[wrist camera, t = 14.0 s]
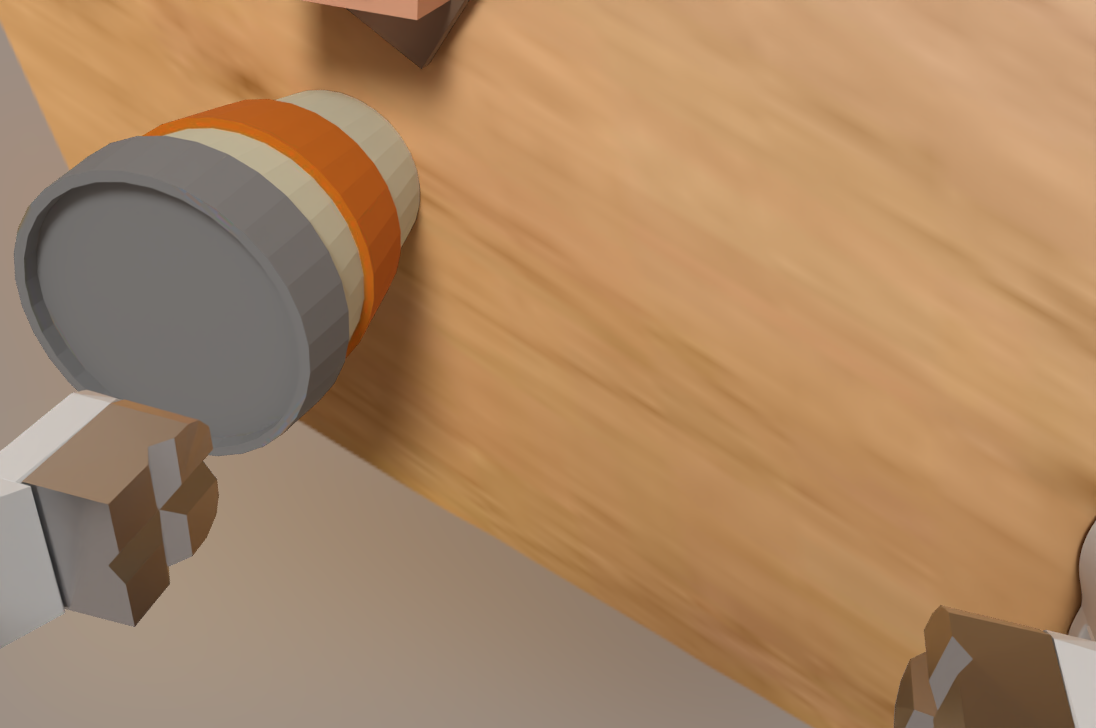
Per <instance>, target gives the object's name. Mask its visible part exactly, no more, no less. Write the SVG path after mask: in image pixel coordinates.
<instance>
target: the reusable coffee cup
mask: <svg viewBox="0 0 1096 728" xmlns="http://www.w3.org/2000/svg"><path fill="white" fill-rule="evenodd" d="M419 204H420V185H419V180H418V174H417V169H416V167H415V164H414V161H413V158H412V156H411V153H410V151H409V150H408V148H407V146H406V144H405V143H404V141H403V139H402V137H401V136H400V135H399V134H398V132H397V131H396V130H395V129H394V128H393V126H392V125H391V124H390V123H389V122H388V121H387V120H386V119H385V118H384V117H383V116H381V115H380V114H379V113H378V112H377V111H376V110H375V109H373V108H371V107H370V106H368V105H366V104H365V103H363V102H362V101H360V100H358V99H356V98H353V97H350V96H348V95H345V94H343V93H339V92H333V91H328V90H308V91H304V92H300V93H296V94H293V95H290V96H286V97H283V98H280V99H277V100H270V99H255V100H243V101H240V102H236V103H232V104H228V105H225V106H222V107H218V108H215V109H212V110H208V111H205V112H202V113H198V114H195V115H192V116H188V117H185V118H182V119H178V120H175V121H172V122H169V123H165V124H162V125H160V126H158V127H157V128H155V129H153V130H152V131H150V132H148V133H146V134H145V135H143V136H136V137H132V138H128V139H124V140H121V141H117V142H113V143H110V144H108V145H107V146H105V147H103V148H102V149H100V150H98V151H96V152H95V153H93V154H91V155H90V156H88V157H87V158H86V159H84V160H83V161H82V162H80V163H79V164H78V165H76V166H75V167H74V168H72V169H71V170H70V171H68V172H67V173H66V174H64V175H63V176H62V177H60V178H59V179H58V180H56V181H55V182H54V183H52V184H51V185H50V186H49V187H47V188H45V189H44V190H43V191H42V192H41V193H40V195H39V196H38V197H37V198H36V199H35V200H34V201H33V202H32V203H31V205H30V206H29V207H28V209H27V211H26V213H25V215H24V217H23V219H22V221H21V223H20V226H19V228H18V232H17V238H16V243H15V249H14V264H15V280H16V284H17V288H18V292H19V295H20V300H21V304H22V307H23V309H24V312H25V314H26V316H27V319H28V321H29V323H30V325H31V328H32V330H33V332H34V334H35V336H36V337H37V339H38V341H39V342H40V344H41V345H42V347H43V349H44V350H45V352H46V353H47V355H48V357H49V358H50V360H51V361H52V362H53V363H54V365H55V366H56V367H57V368H58V369H59V370H60V372H61V373H62V374H63V376H64V377H65V378H66V379H67V381H68V382H69V383H70V384H71V385H72V386H73V387H74V388H75V389H76V390H78V391H83V390H90V391H93V392H96V393H100V394H103V395H107V396H110V397H114V398H117V399H121V400H124V399H125V400H129V401H132V402H136V403H140V404H143V405H147V406H150V407H154V408H158V409H161V410H165V411H168V412H172V413H176V414H179V415H183V416H186V417H190V418H194V419H197V420H200V421H202V422H203V423H205V424H206V425H208V426H209V428H210V434H211V440H212V445H213V450H212V451H211V452H210V453H209V455H212V456H224V455H233V454H243V453H246V452H249V451H251V450H254V449H257V448H260V447H263V446H265V445H267V444H268V443H270V442H271V441H273V440H274V439H276V438H277V437H279V436H280V435H282V434H283V433H284V432H285V431H286V430H287V429H289V428H290V427H291V426H292V425H293V424H294V423H295V422H296V421H297V420H298V419H300V418H301V417H302V416H303V415H304V414H305V413H306V412H307V411H308V410H309V409H310V408H312V407H313V406H314V405H315V404H316V403H317V402H318V401H319V400H320V399H321V398H322V397H323V396H324V395H325V393H326V392H327V391H328V390H329V389H330V388H331V387H332V385H333V384H334V383H335V381H336V379H337V377H338V375H339V373H340V371H341V369H342V366H343V364H344V362H345V359H346V358H347V356H348V355H349V354H350V353H351V352H352V351H353V349H354V348H355V347H356V346H357V345H358V344H359V342H360V341H361V339H362V337H363V335H364V333H365V331H366V329H367V328H368V326H369V324H370V322H371V320H372V318H373V316H374V315H375V313H376V311H377V309H378V307H379V305H380V304H381V302H382V300H383V298H384V296H385V294H386V292H387V291H388V289H389V287H390V284H391V282H392V280H393V278H394V276H395V274H396V271H397V267H398V263H399V258H400V254H401V247H402V245H403V243H404V242H405V240H406V238H407V236H408V234H409V233H410V231H411V228H412V226H413V224H414V222H415V220H416V217H417V213H418V209H419Z"/></svg>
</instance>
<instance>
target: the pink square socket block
mask: <svg viewBox="0 0 1096 728" xmlns="http://www.w3.org/2000/svg"><path fill="white" fill-rule="evenodd" d="M302 1H308V2H314V3H320V4H325V5H331V6H337V7H343V8H349V9H355V10H361V11H367V12H372V13H378V14H384V15H390V16H396V17H402V18H408V19H413V20H418V19H420V18H422V17H423V16H425V15H426V14H428V13H430V12H431V11H433V10H435V9H436V8H438V7H440V6H441V5H443V4H444V3H446V2H448V1H449V0H302Z"/></svg>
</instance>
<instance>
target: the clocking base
mask: <svg viewBox="0 0 1096 728" xmlns="http://www.w3.org/2000/svg"><path fill="white" fill-rule="evenodd" d="M468 1H469V0H449V1H448V2H446V3H444V4H443V5H441V6H440V7H438V8H436V9H435V10H433V11H431V12H430V13H428V14H426V15H425V16H423V17H422V18H420V19H418V20H413V19H408V18H402V17H396V16H390V15H384V14H378V13H372V12H367V11H361V10H355V9H349V8H346V9H347V10H349V11H350V12H351V13H352V14H354V15H355V16H356V17H357V18H359V19H360V20H361V21H362V22H364V23H365V24H366V25H367V26H369V27H370V28H371V29H372V30H374V31H375V32H376V33H377V34H379V35H380V36H381V37H382V38H384V39H385V40H386V41H387V42H389V43H390V44H391V45H392V46H393V47H395V48H396V49H397V50H398V51H400V52H401V53H402V54H403V55H405V56H406V57H407V58H408V59H410V60H411V61H412V62H413V63H415V64H416V65H417V66H418V67H420V68H421V69H422V68H424V67H425V66H426V65H428V64H429V63H430V62H431V60H432V58H433V57H434V55H435V54H436V52H437V50H438V49H439V47H440V46H441V44H442V43H443V41H444V39H445V38H446V36H447V35H448V33H449V31H450V30H451V28H452V27H453V25H454V24H455V22H456V20H457V19H458V17H459V16H460V14H461V12H462V11H463V9H464V8H465V6H466V5H467V3H468Z"/></svg>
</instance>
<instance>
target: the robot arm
mask: <svg viewBox="0 0 1096 728" xmlns="http://www.w3.org/2000/svg"><path fill="white" fill-rule="evenodd" d="M212 450H213V445H212V440H211V434H210V428H209V426H208V425H206V424H205V423H203V422H202V421H200V420H197V419H194V418H190V417H186V416H183V415H179V414H176V413H172V412H168V411H165V410H161V409H158V408H154V407H150V406H147V405H143V404H140V403H136V402H132V401H129V400H125V399H124V400H121V399H117V398H114V397H110V396H107V395H103V394H100V393H96V392H93V391H90V390H83V391H78V392H74V393H71V394H70V395H69V396H68V397H66V398H65V399H64V400H63V401H62V402H60V403H59V404H58V405H57V406H55V407H54V408H53V409H52V410H50V411H49V412H48V413H47V414H46V415H44V416H43V417H42V418H41V419H39V420H38V421H37V422H36V423H34V424H33V425H32V426H31V427H30V428H28V429H27V430H26V431H25V432H23V433H22V434H21V435H20V436H19V437H17V438H16V439H15V440H14V441H12V442H11V443H10V444H9V445H8V446H7V447H5V448H4V449H3V450H1V451H0V648H2V647H4V646H6V645H8V644H10V643H11V642H13V641H15V640H17V639H19V638H20V637H22V636H24V635H26V634H28V633H30V632H31V631H33V630H35V629H37V628H39V627H41V626H42V625H44V624H46V623H48V622H50V621H51V620H53V619H55V618H57V617H59V616H61V615H62V614H64V613H65V610H64V609H68V610H72V611H76V612H80V613H83V614H87V615H91V616H95V617H99V618H102V619H106V620H110V621H114V622H118V623H122V624H126V625H129V626H133V627H135V626H136V625H137V623H138V622H139V621H140V620H141V619H142V617H143V616H144V615H145V614H146V612H147V611H148V610H149V609H150V608H151V606H152V605H153V604H154V603H155V601H156V600H157V599H158V598H159V597H160V595H161V594H162V593H163V592H164V590H165V589H166V588H167V587H168V586H169V584H170V576H169V566H171V565H173V564H176V563H178V562H180V561H182V560H185V559H187V558H189V557H191V556H193V555H194V553H195V552H196V551H197V549H198V548H199V547H200V546H201V544H202V543H203V542H204V540H205V539H206V538H207V535H208V533H209V531H210V528H211V526H212V524H213V521H214V519H215V517H216V513H217V505H218V498H219V494H218V484H217V478H216V477H215V476H214V475H213V474H212V472H211V471H210V469H209V468H208V467H207V466H206V464H205V463H204V462H203V460H204V459H205V458H206V457H207V456H208V455H209V453H210V452H211V451H212ZM1079 577H1080V584H1081V591H1082V605H1081V608H1080V609H1079V611H1078V613H1077V615H1076V617H1075V619H1074V621H1073V623H1072V625H1071V628H1070V630H1069V634H1068V635H1065V634H1061V633H1057V632H1052V631H1048V630H1043V631H1042V630H1040V629H1037V628H1033V627H1029V626H1025V625H1021V624H1017V623H1013V622H1008V621H1004V620H1000V619H996V618H992V617H988V616H984V615H979V614H975V613H971V612H967V611H963V610H959V609H955V608H951V607H946V606H942V605H940V606H939V607H938V608H937V609H936V610H935V611H934V612H933V613H932V615H931V617H930V619H929V621H928V623H927V625H926V627H925V629H924V636H925V646H926V652H924V653H922V654H920V655H918V656H916V657H914V658H911V659H910V661H909V663H908V665H907V668H906V670H905V672H904V674H903V677H902V679H901V682H900V686H899V691H898V695H897V700H896V704H895V714H894V728H1096V521H1095V523H1094V524H1093V526H1092V527H1091V529H1090V531H1089V533H1088V535H1087V537H1086V539H1085V542H1084V544H1083V547H1082V551H1081V555H1080V562H1079Z"/></svg>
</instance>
